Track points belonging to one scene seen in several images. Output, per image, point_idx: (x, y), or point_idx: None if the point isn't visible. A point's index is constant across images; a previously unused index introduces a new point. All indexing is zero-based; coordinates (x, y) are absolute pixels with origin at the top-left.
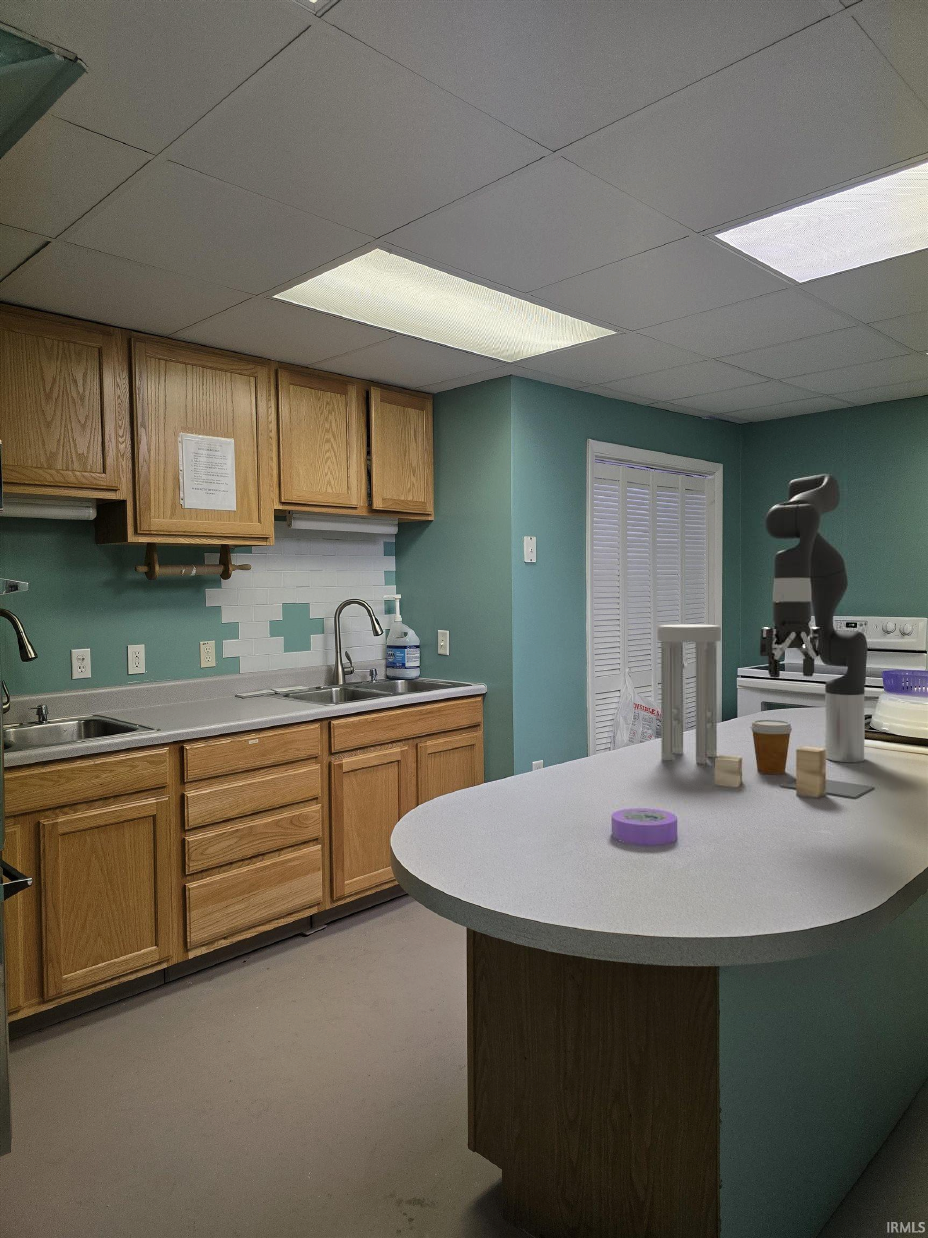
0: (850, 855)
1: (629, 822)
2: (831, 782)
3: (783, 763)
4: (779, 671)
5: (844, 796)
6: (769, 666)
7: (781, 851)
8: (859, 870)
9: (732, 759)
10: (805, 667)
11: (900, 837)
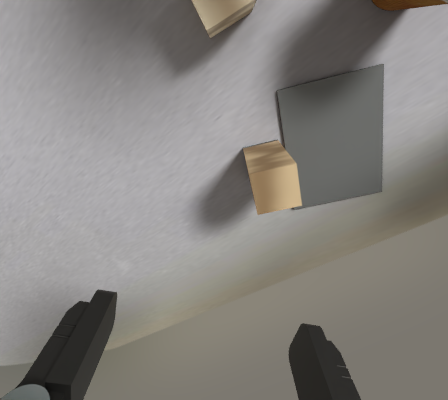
0: None
1: None
2: (364, 134)
3: (405, 8)
4: (100, 354)
5: None
6: (47, 348)
7: (29, 279)
8: None
9: (207, 8)
10: (312, 372)
11: (177, 309)
